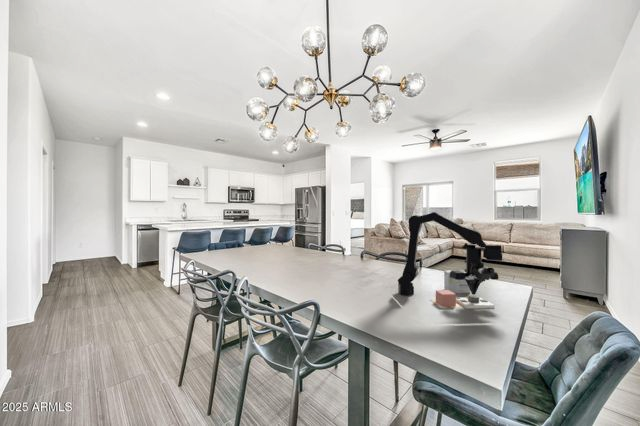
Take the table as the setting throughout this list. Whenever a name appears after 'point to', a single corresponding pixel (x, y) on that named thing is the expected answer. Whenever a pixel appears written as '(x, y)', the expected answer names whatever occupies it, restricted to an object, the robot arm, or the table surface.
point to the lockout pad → (446, 306)
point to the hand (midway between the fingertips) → (473, 294)
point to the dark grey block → (473, 299)
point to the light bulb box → (455, 283)
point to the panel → (469, 304)
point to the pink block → (446, 298)
